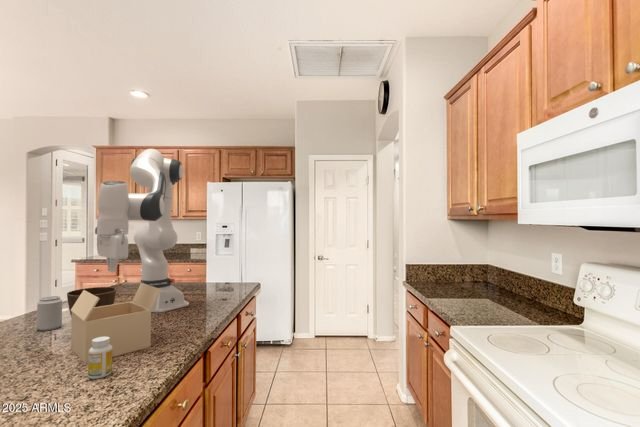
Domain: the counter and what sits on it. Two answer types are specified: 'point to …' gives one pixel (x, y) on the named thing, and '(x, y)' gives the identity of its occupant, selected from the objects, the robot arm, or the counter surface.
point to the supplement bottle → (100, 358)
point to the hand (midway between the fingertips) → (111, 271)
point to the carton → (112, 329)
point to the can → (49, 313)
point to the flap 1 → (84, 305)
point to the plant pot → (101, 292)
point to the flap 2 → (146, 295)
